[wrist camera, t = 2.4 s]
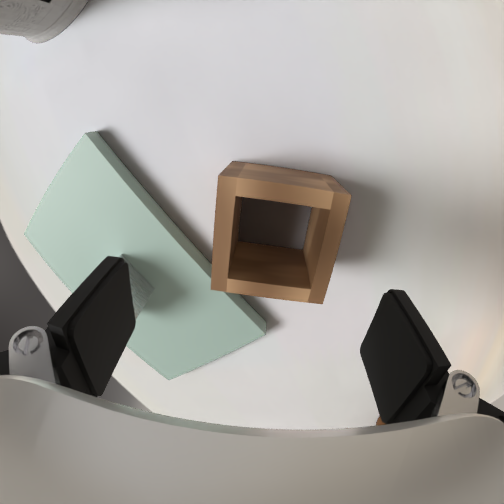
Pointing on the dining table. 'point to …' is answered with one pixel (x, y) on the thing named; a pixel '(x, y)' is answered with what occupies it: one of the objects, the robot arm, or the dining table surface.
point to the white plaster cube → (138, 288)
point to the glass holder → (38, 17)
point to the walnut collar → (273, 257)
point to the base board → (139, 260)
